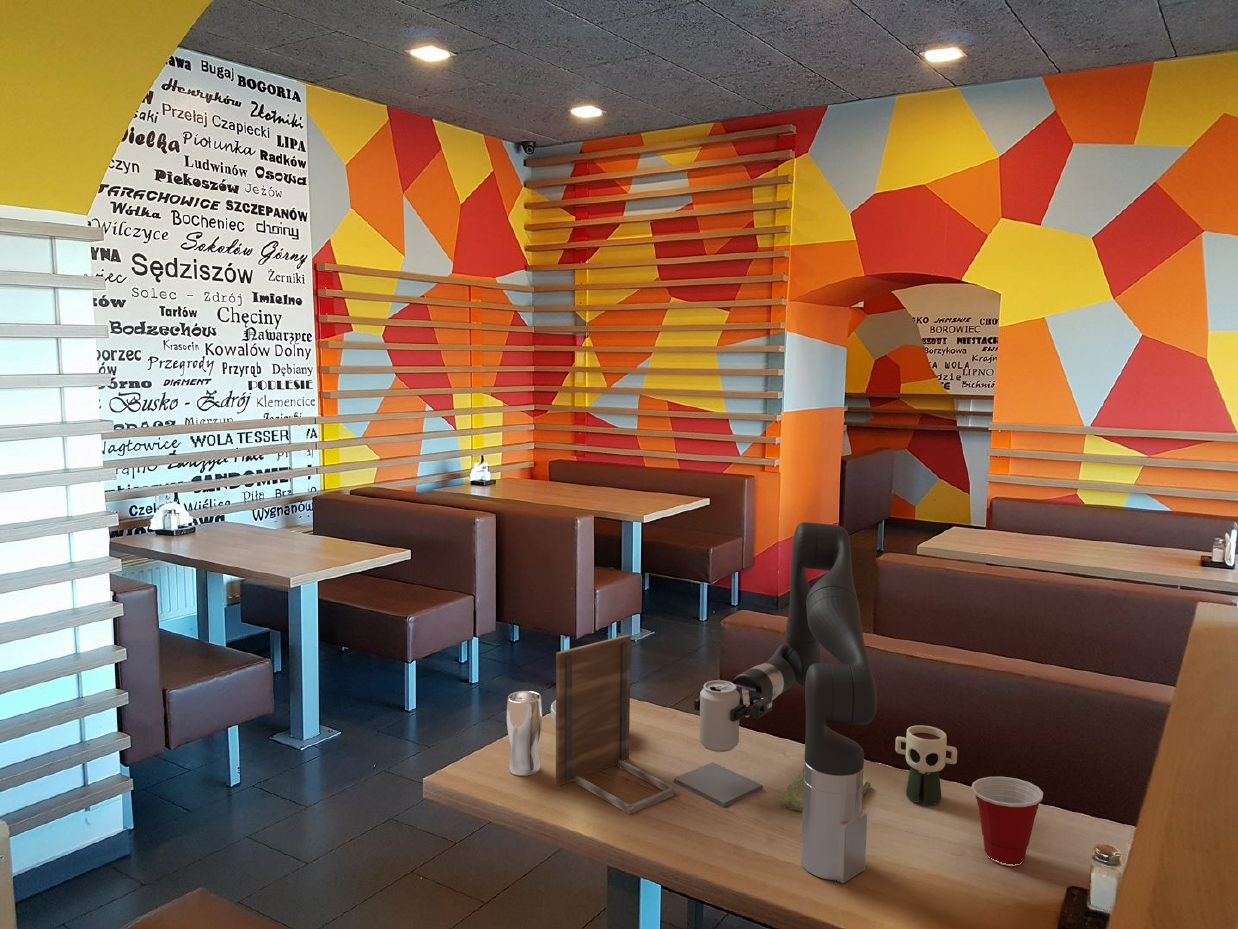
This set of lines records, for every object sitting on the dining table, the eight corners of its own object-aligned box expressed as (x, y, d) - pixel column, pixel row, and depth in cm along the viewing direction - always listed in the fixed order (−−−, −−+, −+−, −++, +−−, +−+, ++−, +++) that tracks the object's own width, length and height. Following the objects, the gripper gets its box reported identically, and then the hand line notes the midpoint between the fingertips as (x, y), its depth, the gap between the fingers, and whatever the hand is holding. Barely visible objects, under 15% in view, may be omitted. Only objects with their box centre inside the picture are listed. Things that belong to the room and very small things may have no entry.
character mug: (889, 800, 165) (892, 733, 164) (896, 785, 172) (899, 720, 170) (951, 814, 160) (955, 745, 159) (956, 798, 167) (960, 731, 165)
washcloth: (873, 789, 171) (873, 773, 170) (845, 829, 156) (845, 811, 155) (807, 772, 178) (808, 757, 177) (774, 809, 163) (775, 792, 162)
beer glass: (544, 762, 180) (545, 691, 178) (538, 778, 173) (538, 704, 171) (511, 761, 180) (510, 689, 179) (503, 776, 174) (503, 702, 172)
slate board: (762, 789, 169) (762, 785, 169) (723, 807, 162) (723, 803, 162) (712, 765, 179) (712, 762, 179) (673, 782, 172) (673, 778, 172)
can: (692, 741, 172) (693, 681, 170) (725, 734, 175) (726, 675, 173) (712, 757, 165) (713, 695, 164) (746, 749, 168) (747, 688, 167)
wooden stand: (688, 789, 169) (691, 657, 166) (617, 820, 157) (618, 678, 154) (625, 757, 182) (627, 634, 180) (555, 784, 171) (556, 652, 168)
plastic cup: (979, 833, 154) (983, 766, 153) (1046, 855, 147) (1051, 785, 146) (958, 859, 146) (962, 789, 144) (1028, 883, 139) (1033, 810, 138)
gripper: (728, 660, 184) (682, 683, 171) (790, 676, 175) (747, 701, 163) (727, 695, 185) (682, 720, 172) (789, 713, 176) (746, 740, 163)
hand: (713, 711), depth 167 cm, fingers closed on can, 7 cm apart
